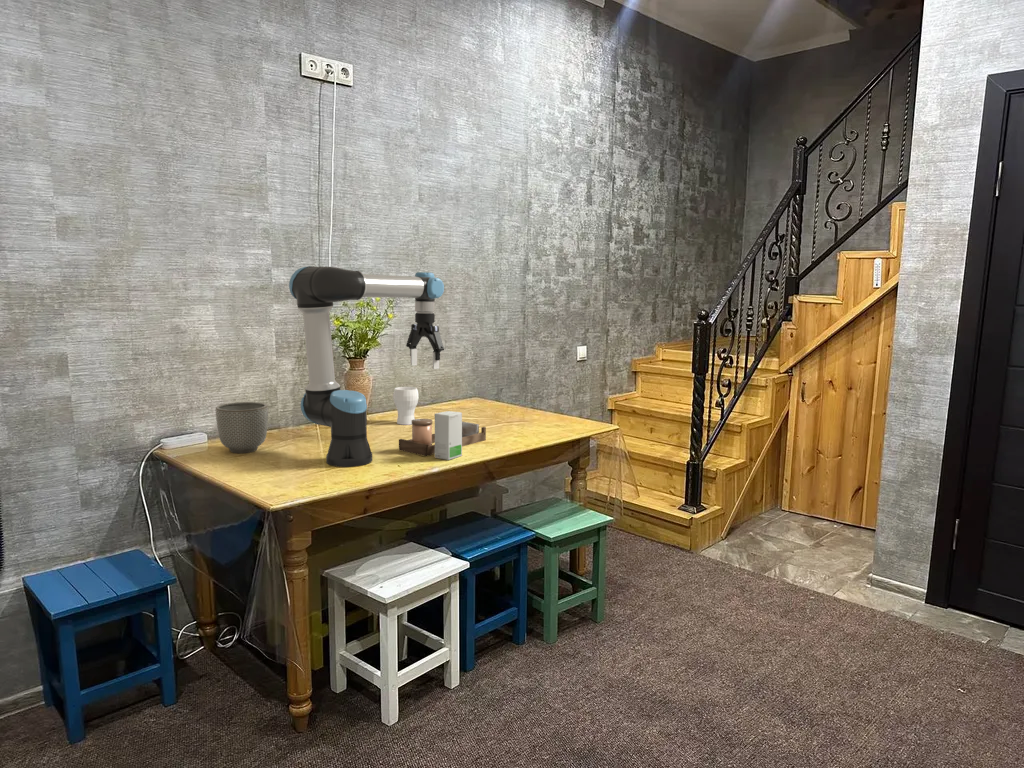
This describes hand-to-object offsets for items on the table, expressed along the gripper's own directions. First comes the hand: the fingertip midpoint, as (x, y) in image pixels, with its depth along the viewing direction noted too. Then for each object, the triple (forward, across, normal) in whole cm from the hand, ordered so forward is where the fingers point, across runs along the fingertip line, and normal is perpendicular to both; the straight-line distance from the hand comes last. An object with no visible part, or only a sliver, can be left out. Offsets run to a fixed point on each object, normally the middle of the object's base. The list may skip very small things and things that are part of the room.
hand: (424, 367), depth 277 cm
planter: (+28, +22, +64) cm, 73 cm away
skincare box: (+27, -33, +16) cm, 46 cm away
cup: (+27, +22, -8) cm, 36 cm away
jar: (+27, -20, +18) cm, 38 cm away
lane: (+27, -19, +6) cm, 33 cm away
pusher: (+27, -17, -9) cm, 33 cm away
